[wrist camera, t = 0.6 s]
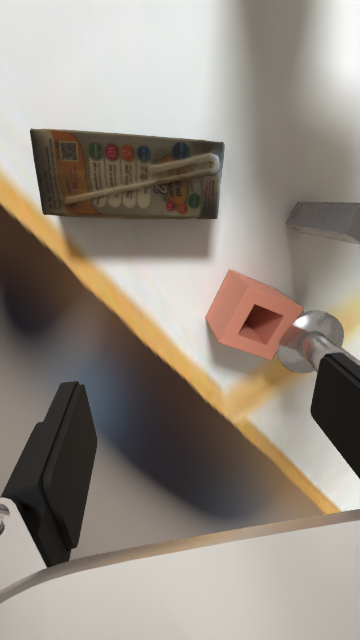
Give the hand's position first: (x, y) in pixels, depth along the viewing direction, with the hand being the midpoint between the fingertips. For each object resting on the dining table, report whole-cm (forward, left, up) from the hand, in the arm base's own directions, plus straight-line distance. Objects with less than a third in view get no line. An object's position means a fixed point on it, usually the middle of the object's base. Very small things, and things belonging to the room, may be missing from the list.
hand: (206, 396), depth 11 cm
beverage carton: (-7, -7, -29) cm, 31 cm away
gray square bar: (-12, +16, -29) cm, 35 cm away
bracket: (+2, +15, -29) cm, 32 cm away
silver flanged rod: (+2, +21, -29) cm, 36 cm away
